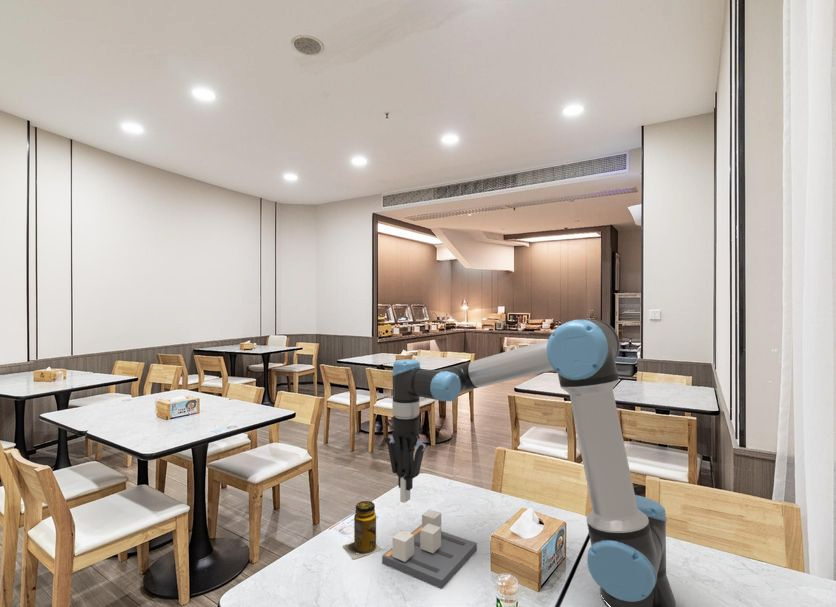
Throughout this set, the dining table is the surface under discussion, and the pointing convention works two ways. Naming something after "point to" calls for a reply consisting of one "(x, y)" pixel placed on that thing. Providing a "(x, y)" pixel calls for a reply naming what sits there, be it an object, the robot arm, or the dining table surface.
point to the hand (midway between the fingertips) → (405, 500)
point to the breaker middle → (430, 538)
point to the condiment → (363, 531)
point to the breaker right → (431, 518)
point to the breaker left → (403, 545)
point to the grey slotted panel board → (434, 559)
